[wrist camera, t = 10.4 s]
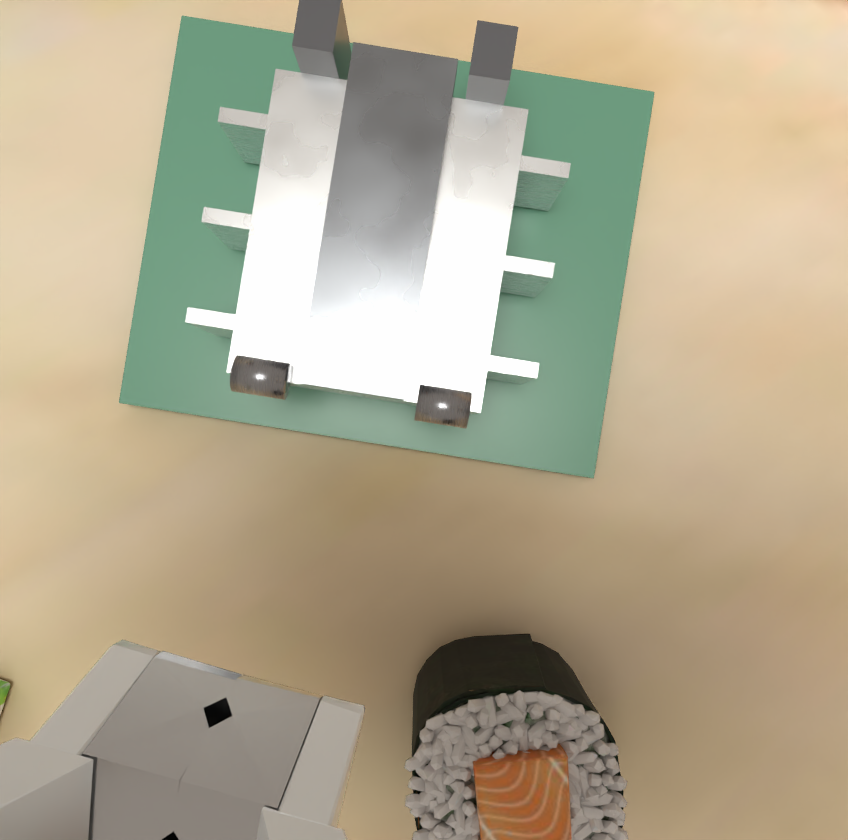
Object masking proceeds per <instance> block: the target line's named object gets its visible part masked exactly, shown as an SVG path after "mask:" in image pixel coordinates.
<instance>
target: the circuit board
mask: <svg viewBox="0 0 848 840" xmlns="http://www.w3.org/2000/svg"><path fill="white" fill-rule="evenodd" d="M293 36H294V34H293V33H287V32H280V31H274V30H268V29H262V28H256V27H249V26H243V25H237V24H231V23H225V22H219V21H212V20H206V19H200V18H194V17H188V16H182V17H181V24H180V30H179V36H178V42H177V48H176V54H175V61H174V67H173V73H172V79H171V85H170V91H169V97H168V104H167V110H166V116H165V122H164V128H163V134H162V141H161V147H160V153H159V159H158V165H157V171H156V177H155V184H154V190H153V196H152V202H151V208H150V214H149V220H148V227H147V233H146V239H145V245H144V251H143V257H142V264H141V270H140V276H139V282H138V288H137V294H136V300H135V307H134V313H133V319H132V325H131V331H130V337H129V344H128V350H127V356H126V362H125V368H124V374H123V380H122V387H121V393H120V399H119V403H123V404H130V405H136V406H142V407H148V408H155V409H161V410H167V411H174V412H180V413H186V414H192V415H199V416H205V417H211V418H218V419H224V420H230V421H236V422H243V423H249V424H255V425H262V426H268V427H274V428H281V429H287V430H293V431H299V432H306V433H312V434H318V435H325V436H331V437H337V438H343V439H350V440H356V441H362V442H369V443H375V444H381V445H387V446H394V447H400V448H406V449H413V450H419V451H425V452H432V453H438V454H444V455H450V456H457V457H463V458H469V459H476V460H482V461H488V462H494V463H501V464H507V465H513V466H520V467H526V468H532V469H539V470H545V471H551V472H557V473H564V474H570V475H576V476H583V477H589V478H594V473H595V467H596V461H597V454H598V448H599V442H600V435H601V429H602V422H603V416H604V410H605V403H606V397H607V391H608V384H609V378H610V372H611V365H612V359H613V352H614V346H615V340H616V333H617V327H618V321H619V314H620V308H621V302H622V295H623V289H624V282H625V276H626V270H627V263H628V257H629V251H630V244H631V238H632V232H633V225H634V219H635V212H636V206H637V200H638V193H639V187H640V181H641V174H642V168H643V162H644V155H645V149H646V142H647V136H648V130H649V123H650V117H651V111H652V104H653V98H654V92H651V91H645V90H639V89H633V88H627V87H620V86H614V85H608V84H602V83H596V82H589V81H583V80H577V79H571V78H565V77H559V76H552V75H546V74H540V73H534V72H528V71H521V70H515V69H512V70H511V77H510V82H509V86H508V90H507V94H506V97H505V101H504V106H510V107H516V108H523V109H529V110H528V117H527V123H526V129H525V136H524V142H523V148H522V155H523V156H529V157H535V158H541V159H548V160H554V161H560V162H566V163H571V165H570V171H569V178H568V180H567V181H566V183H565V185H564V186H563V188H562V190H561V191H560V193H559V195H558V196H557V198H556V200H555V201H554V203H553V205H552V206H551V208H550V210H549V211H545V210H539V209H532V208H526V207H520V206H514V205H513V211H512V218H511V224H510V230H509V237H508V243H507V249H506V255H507V256H514V257H520V258H526V259H532V260H539V261H545V262H551V263H555V266H554V273H553V278H552V279H551V280H550V282H549V283H548V284H547V285H546V286H545V287H544V288H543V289H542V290H541V292H540V293H539V294H538V295H537V296H536V297H535V298H533V297H527V296H521V295H515V294H508V293H502V292H500V293H499V300H498V306H497V312H496V319H495V325H494V331H493V338H492V344H491V350H490V355H491V356H497V357H503V358H510V359H516V360H522V361H528V362H535V363H539V368H538V374H537V378H536V379H534V380H531V381H529V382H526V383H524V384H515V383H508V382H502V381H496V380H490V379H486V382H485V388H484V394H483V401H482V407H481V413H477V414H472V415H471V414H470V415H469V420H468V424H467V428H466V429H465V428H459V427H453V426H447V425H440V424H434V423H428V422H421V421H415V420H414V418H415V412H416V406H414V405H408V404H401V403H395V402H389V401H383V400H376V399H370V398H364V397H358V396H351V395H345V394H339V393H332V392H326V391H320V390H314V389H307V388H301V387H295V386H290V388H289V392H288V395H287V398H286V399H285V400H283V399H277V398H271V397H264V396H258V395H252V394H246V393H239V392H233V391H231V389H230V373H227V367H228V360H229V354H230V348H231V342H232V338H226V337H220V336H216V335H213V334H211V333H209V332H206V331H204V330H202V329H200V328H197V327H195V326H193V325H191V324H188V323H186V322H185V320H186V314H187V308H188V307H190V308H196V309H203V310H209V311H215V312H221V313H228V314H234V315H236V311H237V305H238V299H239V292H240V286H241V280H242V274H243V268H244V261H245V255H246V251H240V250H234V249H230V248H229V247H228V246H227V245H226V244H225V243H224V242H223V241H221V240H220V239H219V238H218V237H217V236H216V235H215V234H214V233H213V232H212V231H211V230H210V229H209V228H208V227H206V226H205V225H204V224H203V223H202V222H201V221H202V215H203V209H204V207H208V208H215V209H221V210H227V211H233V212H239V213H246V214H252V212H253V206H254V199H255V193H256V187H257V181H258V175H259V168H260V165H259V164H253V163H246V162H244V161H243V159H242V158H241V156H240V155H239V153H238V152H237V150H236V149H235V147H234V146H233V144H232V143H231V141H230V140H229V138H228V137H227V135H226V134H225V132H224V131H223V129H222V128H221V126H220V125H219V123H218V116H219V110H220V107H225V108H231V109H237V110H244V111H250V112H256V113H262V114H268V113H269V106H270V100H271V94H272V88H273V82H274V75H275V69H281V70H287V71H294V72H300V73H301V71H300V68H299V65H298V62H297V59H296V56H295V54H294V51H293V48H292V42H293ZM350 47H351V53H352V48H353V43H350ZM470 65H471V62H466V61H460V60H458V66H457V74H456V81H455V87H454V93H453V97H455V98H461V99H466V92H467V85H468V78H469V71H470Z"/></svg>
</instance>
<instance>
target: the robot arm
mask: <svg viewBox="0 0 848 840" xmlns="http://www.w3.org/2000/svg"><path fill="white" fill-rule="evenodd" d="M364 712H365V707H364V705H360V704H356V703H352V702H348V701H344V700H340V699H336V698H333V697H329V696H325V695H324V696H323V695H319V694H315V693H311V692H308V691H304V690H300V689H296V688H292V687H289V686H285V685H281V684H277V683H273V682H270V681H266V680H262V679H258V678H254V677H251V676H247V675H242V674H238V673H235V672H232V671H228V670H225V669H222V668H218V667H215V666H212V665H208V664H205V663H202V662H198V661H195V660H192V659H188V658H185V657H182V656H178V655H175V654H172V653H168V652H165V651H162V652H161V651H157V650H154V649H151V648H148V647H145V646H141V645H138V644H135V643H132V642H128V641H125V640H121V641H119V642H117V643H116V644H114V645H112V646H111V647H109V648H108V650H107V651H106V652H105V653H104V654H103V655H102V657H101V658H100V659H99V660H98V661H97V663H96V664H95V665H94V666H93V667H92V668H91V670H90V671H89V672H88V673H87V674H86V675H85V677H84V678H83V679H82V680H81V681H80V682H79V684H78V685H77V686H76V687H75V688H74V689H73V691H72V692H71V693H70V694H69V695H68V696H67V698H66V699H65V700H64V701H63V702H62V703H61V705H60V706H59V707H58V708H57V709H56V710H55V712H54V713H53V714H52V715H51V716H50V717H49V719H48V720H47V721H46V722H45V723H44V724H43V726H42V727H41V728H40V729H39V730H38V731H37V733H36V734H35V735H34V736H33V737H32V738H31V740H30V741H28V740H24V739H20V738H14V739H12V740H9V741H7V742H5V743H3V744H0V840H348V839H347V836H346V833H345V830H342V829H339V828H337V825H338V821H339V817H340V813H341V809H342V805H343V800H344V796H345V792H346V788H347V784H348V780H349V776H350V772H351V768H352V763H353V759H354V755H355V751H356V747H357V743H358V739H359V734H360V730H361V726H362V722H363V718H364Z"/></svg>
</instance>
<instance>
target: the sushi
mask: <svg viewBox="0 0 848 840" xmlns="http://www.w3.org/2000/svg"><path fill="white" fill-rule="evenodd" d="M618 754H619V753H618V746H617V745H616V744H615V740H614V738H613V736H612V735H611V733H610V731H609V729H608V727H607V726H606V724H605V722H604V721H603V719H602V718H601V716H600V714H599V713H598V712H597V710H596V709H595V707H594V706H593V704H592V703H591V701H590V700H589V698H588V696H587V695H586V693H585V691H584V689H583V688H582V686H581V684H580V682H579V680H578V679H577V677H576V675H575V673H574V672H573V670H572V669H571V668H570V667H569V665H568V664H567V663H566V662H565V661H564V659H563V658H562V657H561V656H560V655H559V654H558V653H557V652H555V651H554V650H552V649H550V648H548V647H546V646H545V645H543V644H540V643H536V642H533V641H532V639H531V636H530V634H518V635H495V636H474V637H469V638H464V639H459V640H455V641H453V642H451V643H449V644H446V645H444V646H442V647H440V648H439V649H438V650H437V651H436V652H435V653H434V654H433V655H431V656H430V657H429V658H428V659H427V660H426V662H425V664H424V665H423V667H422V669H421V670H420V672H419V673H418V675H417V680H416V684H415V689H414V695H413V735H412V757H411V758H409V759H408V760H406V763H405V767H404V768H405V769H407V770H408V771H410V772H411V771H412V775H413V776H412V778H411V779H410V780H409V784H408V788H410V789H413V794H410V795H407V796H406V800H405V806H406V807H408V808H410V809H411V810H410V813H411V814H412V815H413V816H414V817H415V821H416V826H417V831H415V832H414V833H413V838H412V840H628V835H627V831H625V830H624V829H622V827H623V825H624V821H625V813H624V811H623V807H626V805H627V801H626V800H625V799H624V797H623V789H625V788H626V785H627V781H626V780H625V779H624V778H623V777H622V776H621V774H620V768H619V762H618V756H617V755H618Z"/></svg>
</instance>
